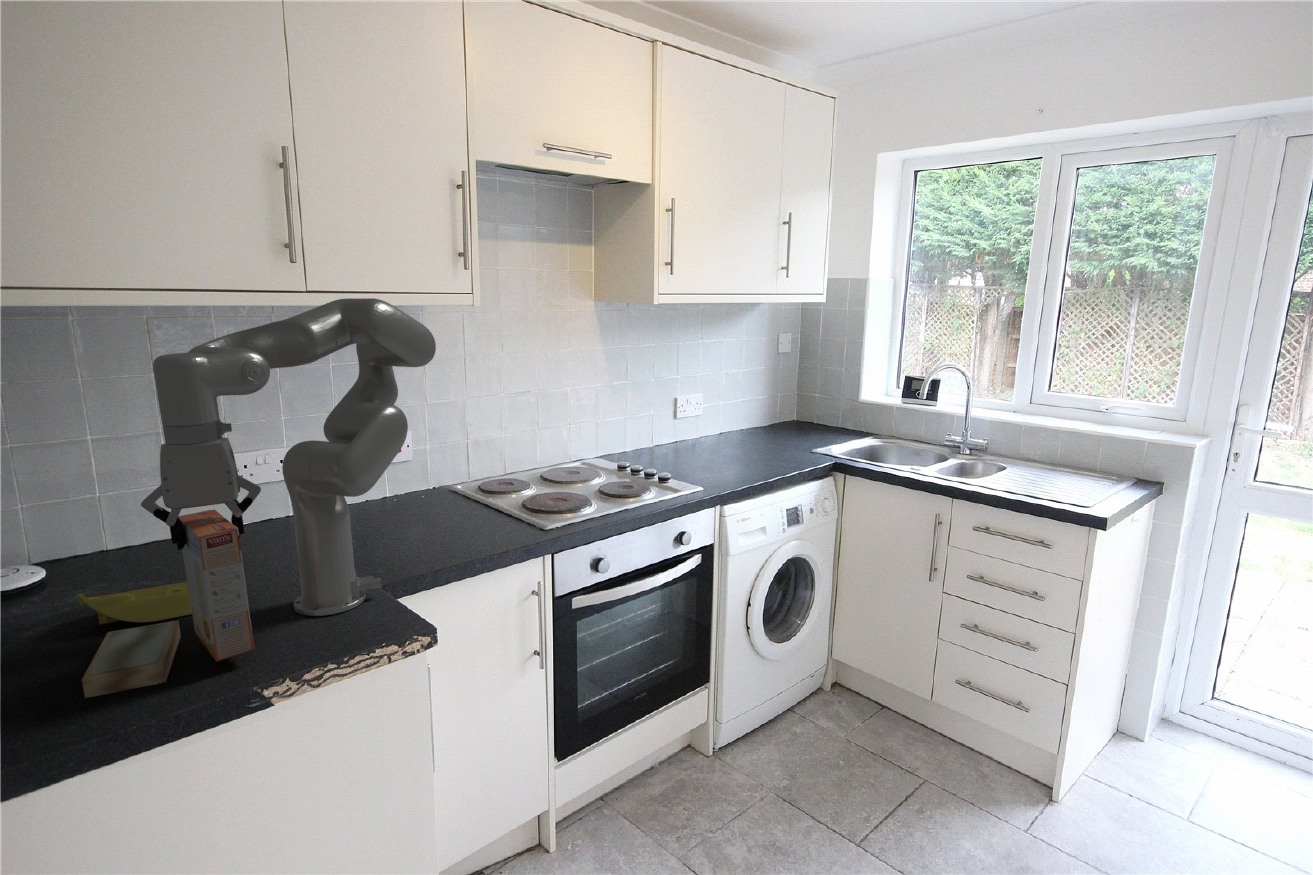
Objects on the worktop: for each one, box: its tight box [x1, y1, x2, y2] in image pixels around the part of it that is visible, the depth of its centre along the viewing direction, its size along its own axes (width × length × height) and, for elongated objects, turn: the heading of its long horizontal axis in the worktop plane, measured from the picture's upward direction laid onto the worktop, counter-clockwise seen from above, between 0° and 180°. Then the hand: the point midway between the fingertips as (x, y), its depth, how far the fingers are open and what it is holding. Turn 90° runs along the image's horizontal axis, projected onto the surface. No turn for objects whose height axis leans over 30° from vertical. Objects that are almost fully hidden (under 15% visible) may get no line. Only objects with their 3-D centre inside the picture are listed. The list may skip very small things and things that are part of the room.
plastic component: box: [75, 581, 192, 625], centre depth 135 cm, size 20×7×10 cm
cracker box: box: [178, 509, 255, 663], centre depth 118 cm, size 14×6×21 cm, turn 43°
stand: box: [81, 619, 182, 699], centre depth 117 cm, size 10×17×3 cm, turn 26°
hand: (210, 542), depth 116 cm, fingers closed on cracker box, 7 cm apart
